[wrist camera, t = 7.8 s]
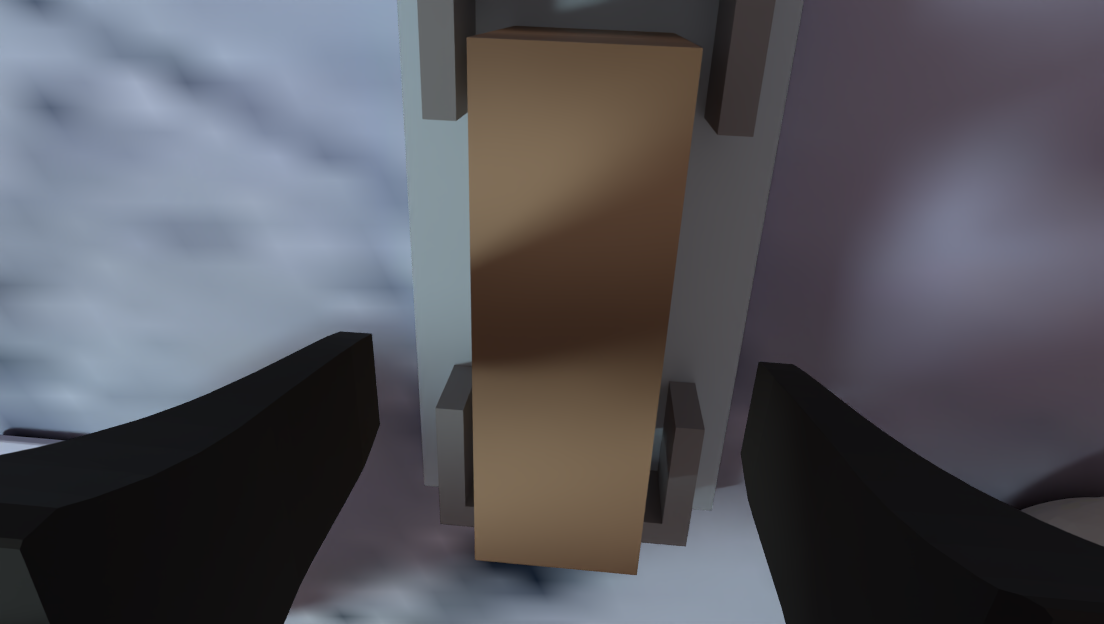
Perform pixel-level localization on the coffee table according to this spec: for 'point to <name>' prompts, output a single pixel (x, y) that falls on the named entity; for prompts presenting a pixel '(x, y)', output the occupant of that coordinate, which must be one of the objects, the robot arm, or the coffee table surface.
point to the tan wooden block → (571, 282)
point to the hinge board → (704, 242)
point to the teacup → (1074, 516)
